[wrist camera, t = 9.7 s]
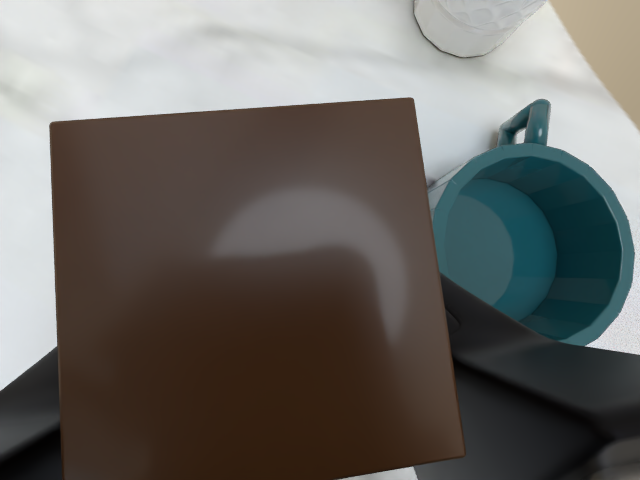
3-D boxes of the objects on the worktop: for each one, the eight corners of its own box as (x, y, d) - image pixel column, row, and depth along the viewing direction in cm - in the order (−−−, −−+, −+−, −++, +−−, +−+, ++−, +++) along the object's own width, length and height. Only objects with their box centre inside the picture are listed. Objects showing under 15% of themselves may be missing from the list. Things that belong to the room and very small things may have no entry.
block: (330, 311, 16) (469, 458, 3) (250, 321, 16) (60, 530, 3) (321, 233, 17) (415, 94, 4) (243, 241, 16) (46, 119, 3)
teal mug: (549, 351, 19) (625, 375, 15) (386, 320, 19) (415, 335, 14) (571, 147, 21) (647, 113, 16) (421, 112, 20) (457, 67, 16)
